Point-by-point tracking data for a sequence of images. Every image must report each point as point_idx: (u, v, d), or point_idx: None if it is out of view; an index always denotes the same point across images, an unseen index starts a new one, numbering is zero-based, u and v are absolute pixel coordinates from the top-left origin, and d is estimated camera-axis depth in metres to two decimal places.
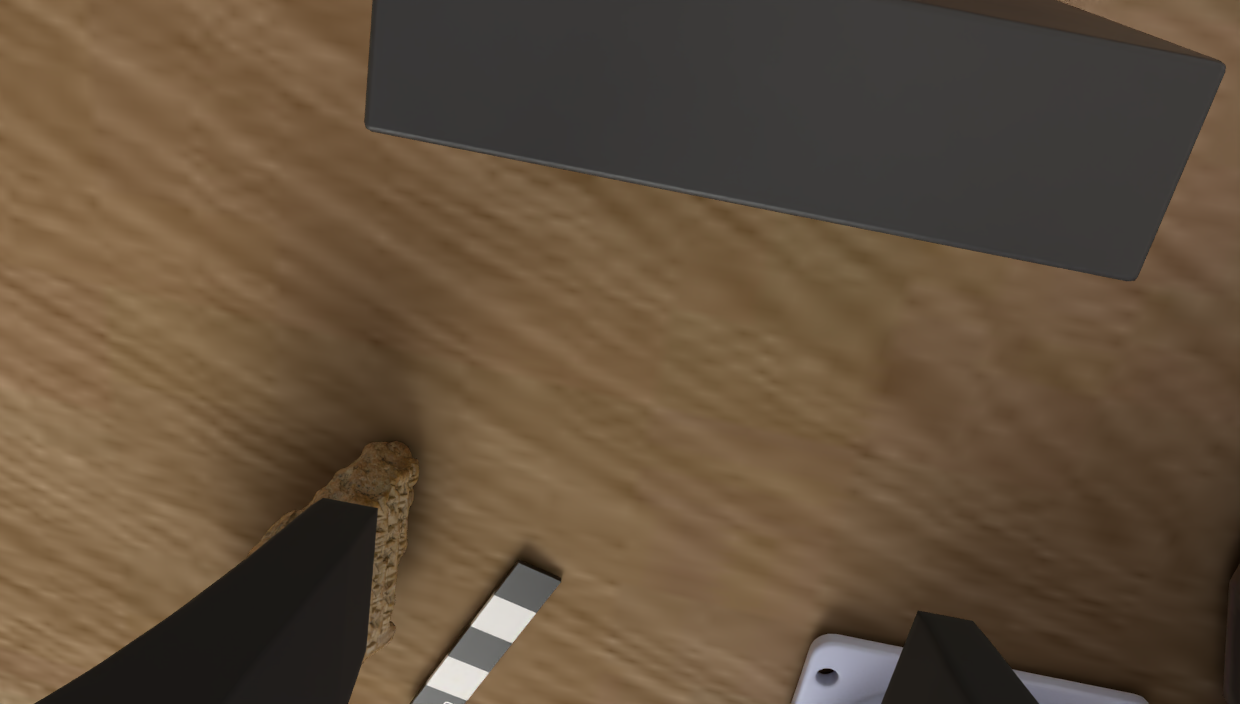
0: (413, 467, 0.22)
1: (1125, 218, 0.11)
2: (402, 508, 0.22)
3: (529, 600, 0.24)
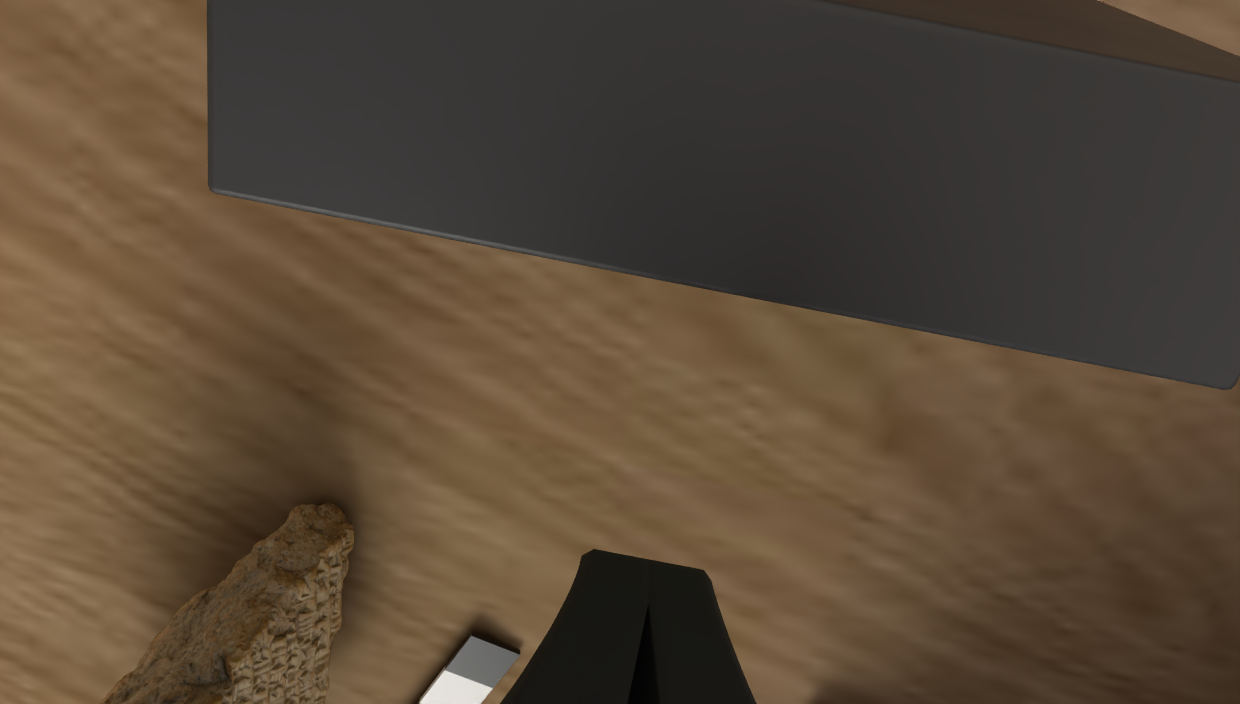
0: (346, 534, 0.20)
1: (1222, 312, 0.08)
2: (334, 582, 0.19)
3: (484, 675, 0.21)
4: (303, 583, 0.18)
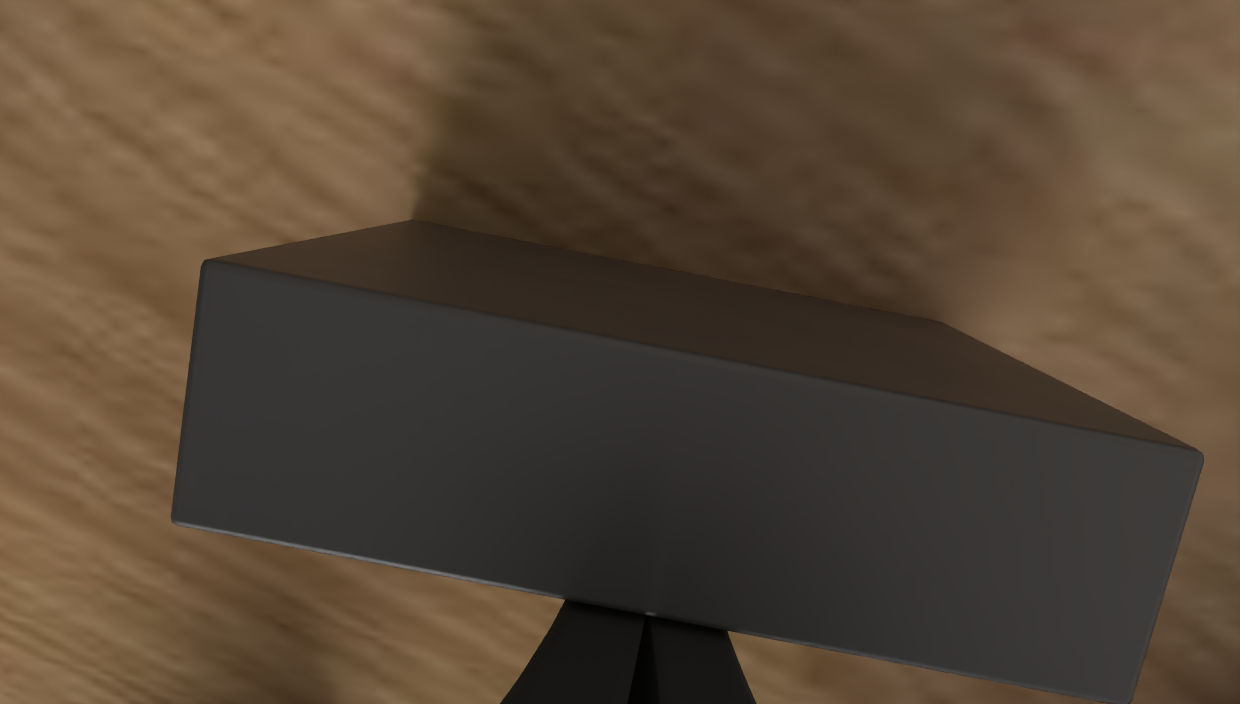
0: None
1: (1109, 630, 0.09)
2: None
3: None
4: None
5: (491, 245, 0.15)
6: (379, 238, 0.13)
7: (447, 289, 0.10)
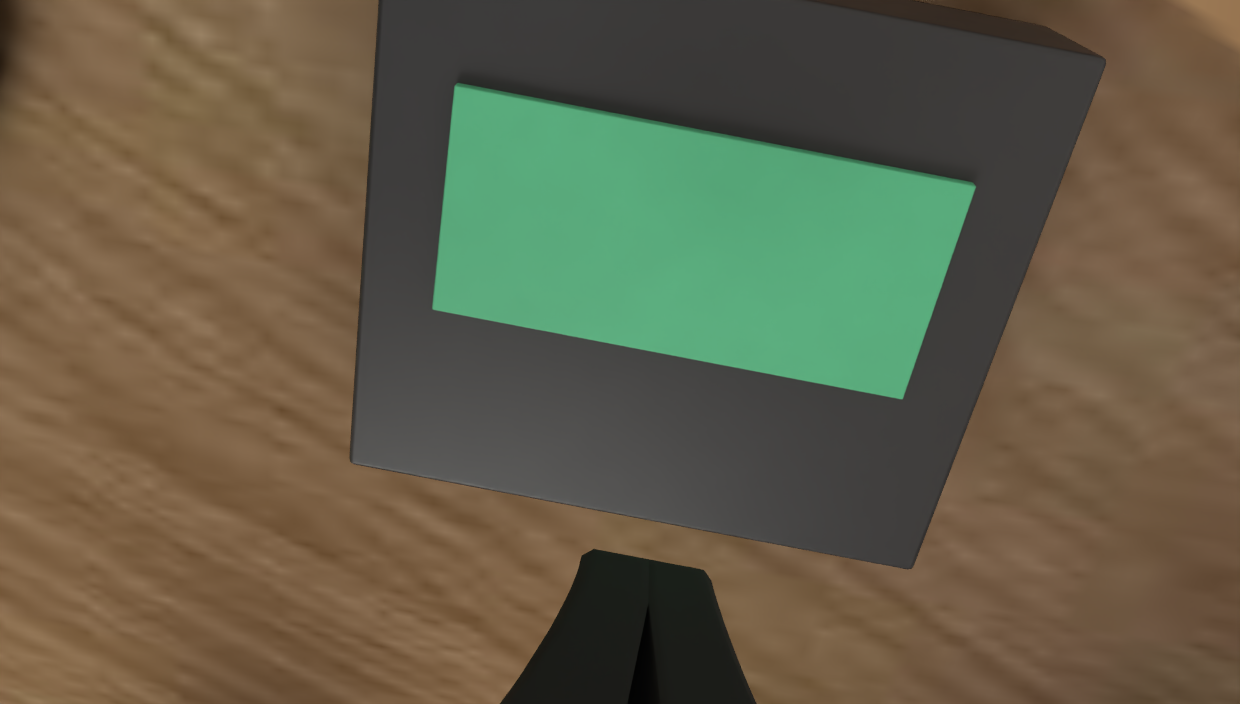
0: None
1: (1059, 42, 0.13)
2: None
3: None
4: None
5: None
6: None
7: None
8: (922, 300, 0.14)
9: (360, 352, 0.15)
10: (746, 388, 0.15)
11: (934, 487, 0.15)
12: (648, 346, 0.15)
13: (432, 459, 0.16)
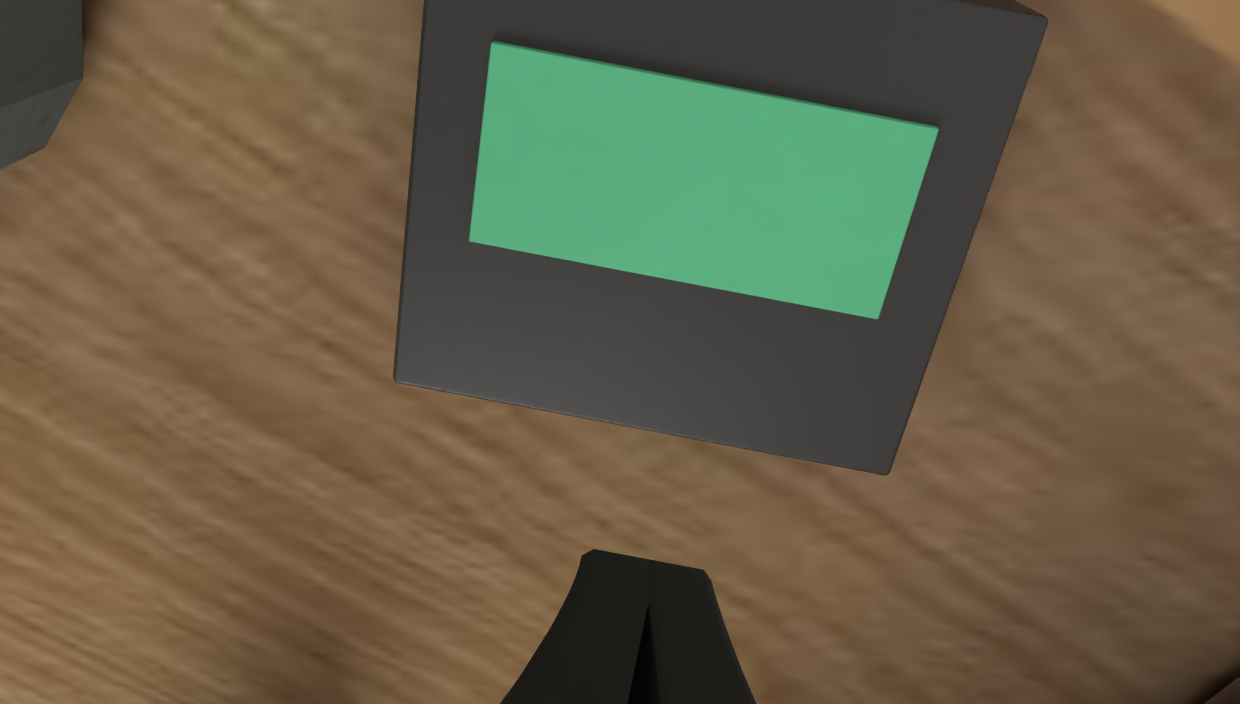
0: None
1: (1009, 5, 0.15)
2: None
3: None
4: None
5: None
6: None
7: None
8: (894, 230, 0.16)
9: (404, 281, 0.17)
10: (742, 311, 0.17)
11: (906, 399, 0.17)
12: (657, 274, 0.17)
13: (467, 377, 0.18)
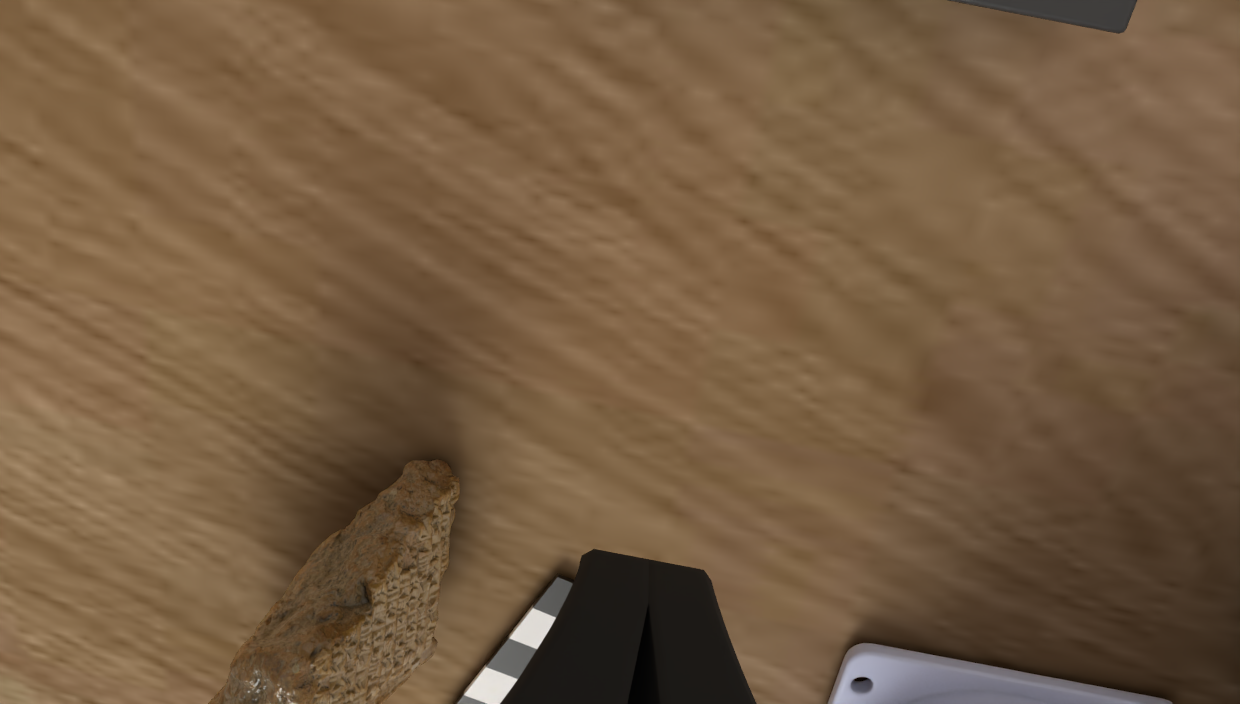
0: (454, 485, 0.23)
1: None
2: (444, 527, 0.22)
3: None
4: (423, 525, 0.21)
5: None
6: None
7: None
8: None
9: None
10: None
11: None
12: None
13: None
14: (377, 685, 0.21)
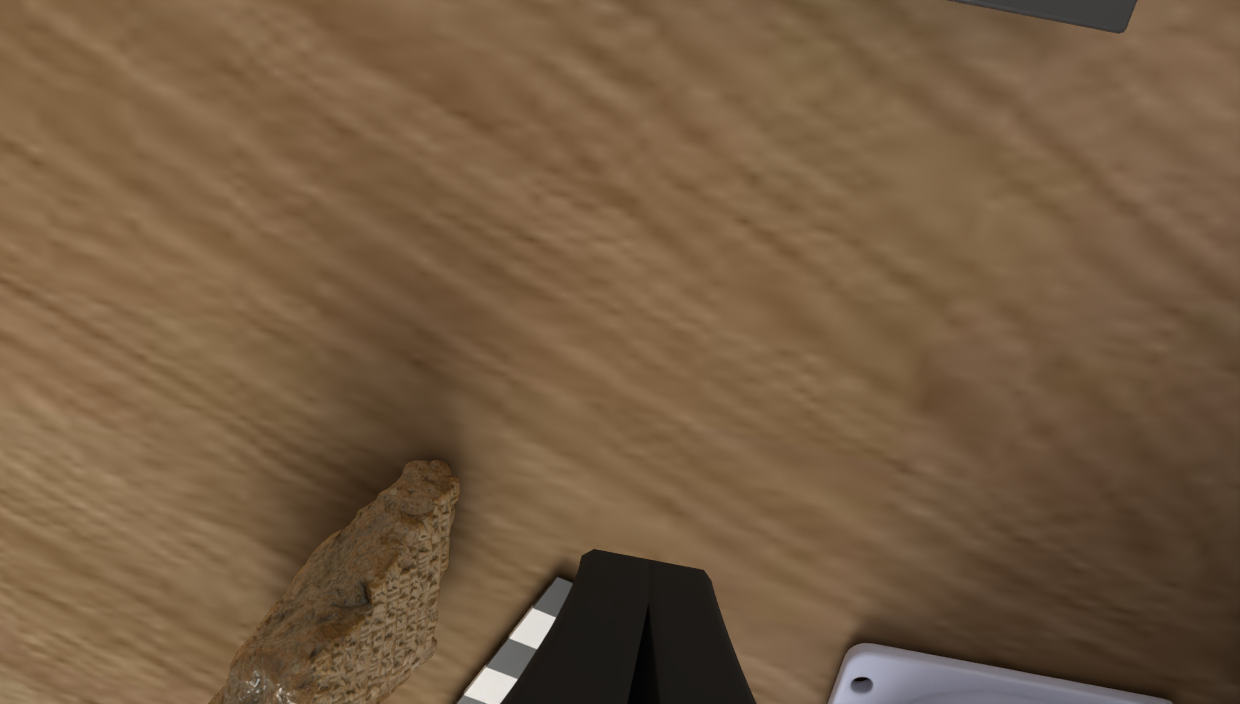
0: (454, 485, 0.23)
1: None
2: (444, 527, 0.22)
3: None
4: (423, 525, 0.21)
5: None
6: None
7: None
8: None
9: None
10: None
11: None
12: None
13: None
14: (377, 685, 0.21)
